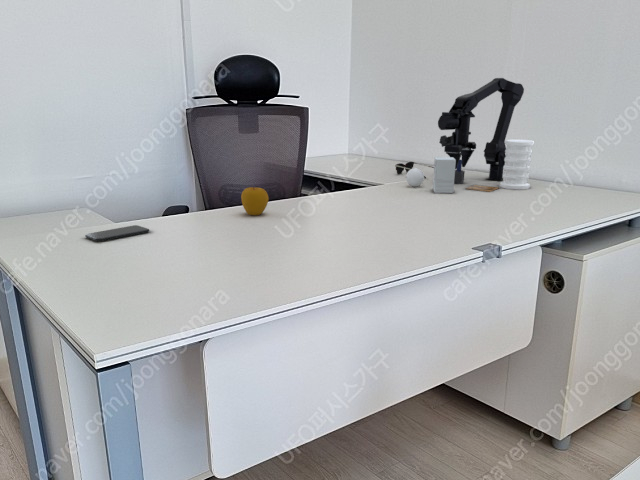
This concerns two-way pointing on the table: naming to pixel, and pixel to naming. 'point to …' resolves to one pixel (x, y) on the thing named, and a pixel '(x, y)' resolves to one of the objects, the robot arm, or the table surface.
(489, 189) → the sketch board
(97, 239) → the smartphone
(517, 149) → the decorative container
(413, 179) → the white ball
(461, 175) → the pen cup
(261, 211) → the apple
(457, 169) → the marker
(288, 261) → the table surface
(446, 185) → the white packaging box
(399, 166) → the sunglasses
